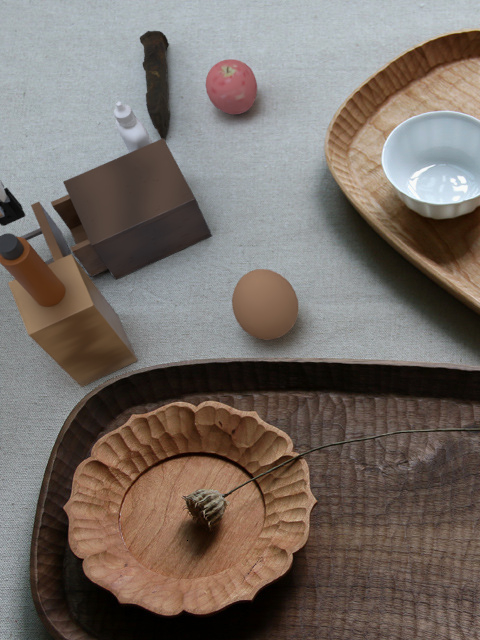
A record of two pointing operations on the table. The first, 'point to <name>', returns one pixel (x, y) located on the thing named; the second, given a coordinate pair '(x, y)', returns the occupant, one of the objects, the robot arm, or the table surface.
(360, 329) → the table surface
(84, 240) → the drawer
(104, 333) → the block
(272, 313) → the egg
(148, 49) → the hand tool
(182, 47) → the table surface
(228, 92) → the apple
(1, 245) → the amber bottle
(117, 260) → the cabinet
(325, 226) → the table surface
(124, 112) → the eye dropper bottle
